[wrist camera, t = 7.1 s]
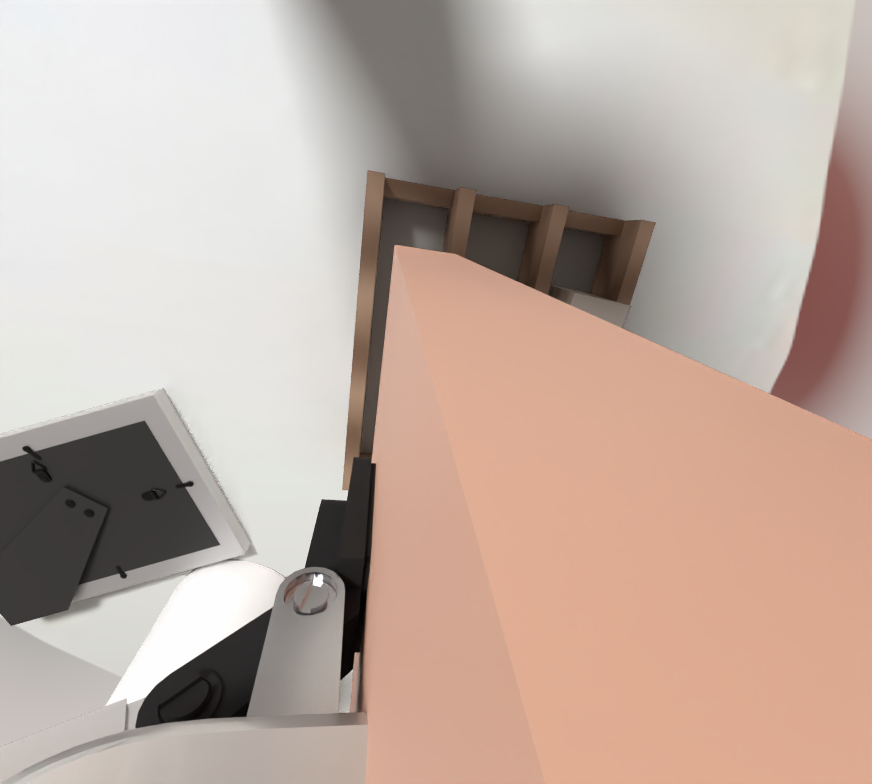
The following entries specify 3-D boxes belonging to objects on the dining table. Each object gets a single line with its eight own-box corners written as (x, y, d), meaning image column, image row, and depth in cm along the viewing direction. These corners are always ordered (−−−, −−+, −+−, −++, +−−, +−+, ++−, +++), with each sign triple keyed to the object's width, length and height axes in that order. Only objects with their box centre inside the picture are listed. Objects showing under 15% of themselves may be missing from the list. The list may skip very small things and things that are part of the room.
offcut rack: (370, 178, 27) (367, 170, 23) (622, 223, 30) (655, 222, 26) (347, 462, 35) (342, 489, 31) (549, 477, 38) (567, 503, 34)
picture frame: (37, 598, 37) (253, 537, 37) (11, 625, 35) (243, 560, 35) (-89, 457, 31) (167, 384, 31) (-133, 477, 29) (147, 398, 29)
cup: (165, 559, 37) (66, 702, 25) (298, 558, 38) (260, 692, 27) (182, 650, 41) (104, 807, 30) (302, 646, 42) (270, 793, 31)
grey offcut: (541, 282, 31) (574, 292, 25) (588, 293, 32) (630, 306, 26) (498, 421, 35) (519, 456, 30) (541, 428, 36) (568, 464, 30)
